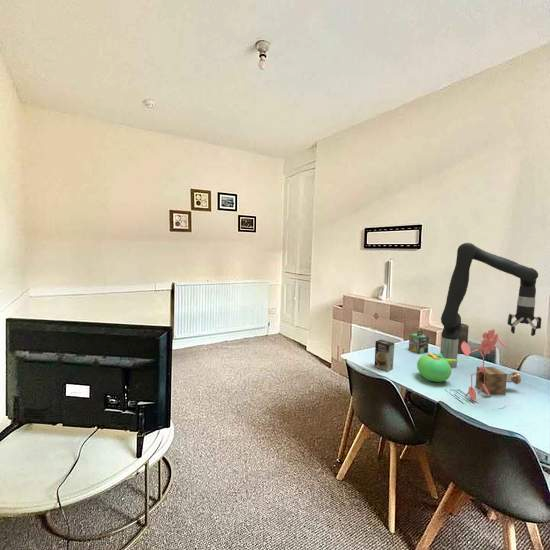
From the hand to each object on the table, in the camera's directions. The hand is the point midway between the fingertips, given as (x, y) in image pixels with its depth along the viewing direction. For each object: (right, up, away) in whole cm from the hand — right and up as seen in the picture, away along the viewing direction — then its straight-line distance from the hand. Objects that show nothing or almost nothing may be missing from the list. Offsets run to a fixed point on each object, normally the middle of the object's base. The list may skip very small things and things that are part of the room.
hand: (522, 334), depth 171 cm
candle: (-7, -21, +46) cm, 51 cm away
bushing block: (-25, -27, -10) cm, 38 cm away
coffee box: (-70, -24, +17) cm, 75 cm away
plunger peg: (-18, -23, -11) cm, 31 cm away
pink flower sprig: (-35, -28, -22) cm, 50 cm away
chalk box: (-35, -21, +47) cm, 63 cm away
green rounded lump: (-47, -25, +2) cm, 54 cm away
